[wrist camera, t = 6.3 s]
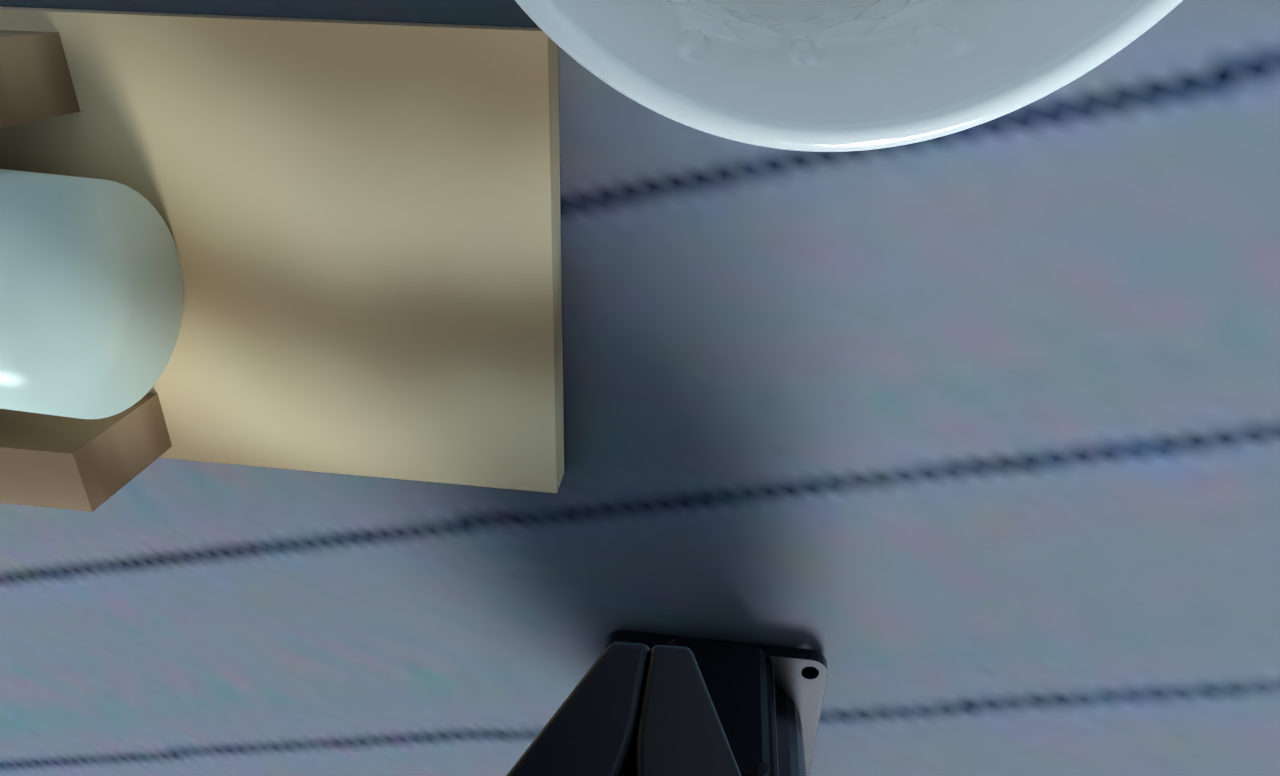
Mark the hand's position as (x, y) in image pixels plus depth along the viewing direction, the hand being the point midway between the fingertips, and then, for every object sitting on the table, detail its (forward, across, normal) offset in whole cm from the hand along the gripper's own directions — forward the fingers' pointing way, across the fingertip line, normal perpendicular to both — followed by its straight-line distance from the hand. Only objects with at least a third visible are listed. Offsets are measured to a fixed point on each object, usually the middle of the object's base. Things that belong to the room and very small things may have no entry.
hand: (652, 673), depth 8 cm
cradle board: (+12, +15, -1) cm, 19 cm away
